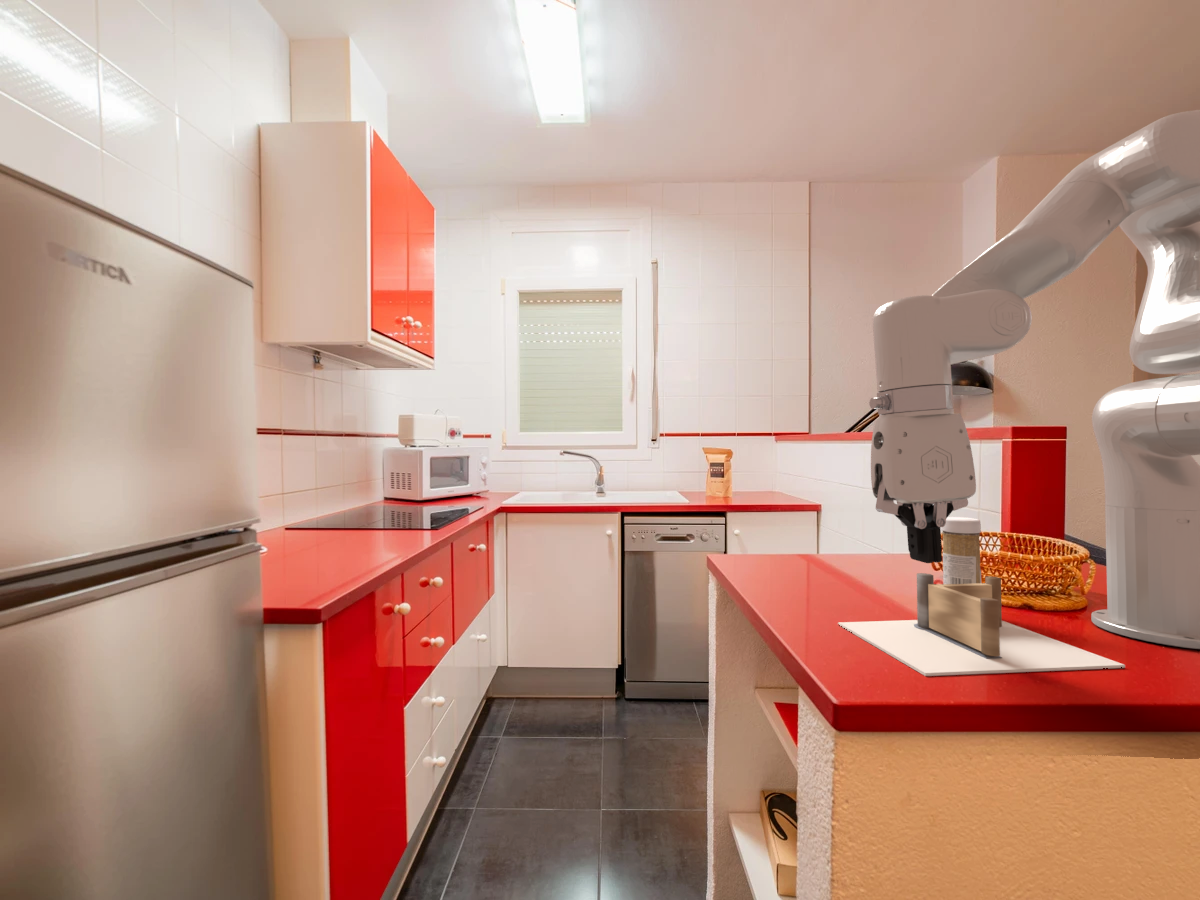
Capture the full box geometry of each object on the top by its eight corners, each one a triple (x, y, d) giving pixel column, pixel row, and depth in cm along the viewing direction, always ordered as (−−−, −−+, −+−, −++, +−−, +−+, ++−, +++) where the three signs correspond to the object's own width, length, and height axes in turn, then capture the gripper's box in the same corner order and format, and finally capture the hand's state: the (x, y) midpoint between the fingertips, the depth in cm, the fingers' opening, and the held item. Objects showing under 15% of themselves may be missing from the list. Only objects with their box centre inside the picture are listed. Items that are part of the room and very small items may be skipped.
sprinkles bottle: (988, 614, 71) (986, 518, 71) (974, 620, 68) (972, 520, 69) (951, 607, 75) (949, 515, 75) (936, 612, 72) (935, 517, 73)
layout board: (993, 619, 69) (993, 616, 69) (1124, 667, 53) (1124, 663, 53) (837, 624, 67) (837, 621, 67) (925, 676, 51) (925, 672, 51)
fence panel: (926, 627, 64) (925, 581, 64) (938, 627, 64) (938, 580, 64) (989, 656, 54) (988, 601, 54) (1003, 656, 54) (1002, 601, 54)
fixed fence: (993, 625, 67) (992, 571, 67) (1005, 629, 65) (1004, 574, 65) (914, 627, 66) (913, 573, 66) (924, 632, 64) (923, 576, 64)
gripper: (874, 405, 56) (886, 572, 55) (1001, 397, 57) (1013, 562, 57) (836, 411, 63) (847, 559, 63) (949, 405, 64) (960, 550, 64)
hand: (925, 560), depth 60 cm, fingers closed
